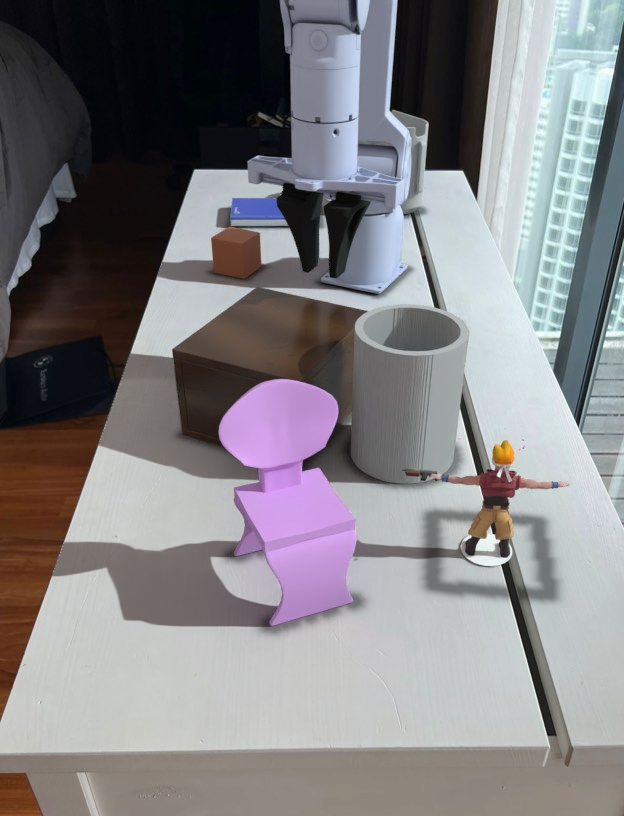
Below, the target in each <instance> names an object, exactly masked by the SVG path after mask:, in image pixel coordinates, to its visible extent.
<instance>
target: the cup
mask: <svg viewBox="0 0 624 816" xmlns="http://www.w3.org/2000/svg"><path fill="white" fill-rule="evenodd" d="M367 311H368V312H366V313H364V314H363V315H362V316H361V317H359V318H358V319H357V321H356V323H355V329H354V362H353V394H352V412H351V426H350V427H351V429H350V431H351V432H350V457H351V460H352V461H353V462H352V463H354V465H355V466H356V467H357V468H358V469H359V470H360V471H361V472H363V473H365V475H368V476H369V477H372V478H373V479H377V480H380V481H383V482H388V483H393V484H404V485H406V484H407V485H408V484H411V485H412V484H419V483H425V482H428V481H431V480H435V479H434V478H432V477H429V476H428V477H427V479H426V481H421V477H422V476H421V475H420V476H419V477H414V476H406V474H405V471H402V469H403V470H405V469H406V468H407V469H413V468H417V469H420V470H433V471H434V472H435V471H437V472H439V473H440V474H441V475H442V476H443V475H445V473H446V472H448V470H449V469H450V468H451V467H452V465H453V462H454V457H455V449H456V441H457V435H458V434H457V433H458V427H459V418H460V410H461V403H462V394H463V386H464V378H465V371H466V370H465V369H466V363H467V356H468V355H467V354H468V346H469V338H470V330H469V326H468V325H467V323H466V322H465V321H464V320H462V318H461V317H458V316H457V315H455V314H454V313H452V312H449V311H447V310H444V309H441V308H438V307H433V306H429V305H424V304H412V303H403V304H401V303H400V304H390V305H384V306H379V307H376V308H373V309H371V310H367Z"/></svg>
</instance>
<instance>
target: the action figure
mask: <svg viewBox="0 0 624 816" xmlns="http://www.w3.org/2000/svg"><path fill="white" fill-rule="evenodd" d="M491 463H492V465H493V466H494V469H489V468H487V469H486V472H485V473H482V472H481V473H479V474H477V475H466V476H462V477H460V476H456V475H448V474H447V475H446V474H442V475H441V474H440V473H439V472H437V471H435V472H434V471H433V470H420V469H417V468H413V469H407V468H406V469H405V470H403V469H402V471H405V474H406V476H414V477H419V476H420V475H421V476H422V477H421V481H425V482H427V481H426V479H427V477H428V476H429V477H432V478H434V479H433V480H435V482H438V481H441V482H445V483H450V484H453V485H465V486H479V487H480V488H481V495H482V497H484V498H483V500H482V506H481V509H480V511H479V512H478V513H477V514H476V516H475V517H474V518H473V520H472V523H471V524H470V527H469V529H468V532H467V533H468V535H467V536H466V537H464V539H463V540H462V541H461V543H460V551H461V553H462V554H463V556H464V557H465V558H466V559H467V560H469V561H470V562H472V563H473V564H476V565H480V566H483V567H484V566H485V567H497V566H501V565H503V564H506V563H507V562H509V561H510V560H511V558H512V557H513V548H512V546H511V544H510V541H509V540H510V539H512V538H514V535H515V533H514V525H513V519H512V517H511V514H510V511H509V509H510V504H511V502H510V498H514V497H515V495H516V491H517V490H519V489H529V490H550V489H552V490H554V489H558V488H564V487H569V486H570V485H571V484H570V482H569V481H563V479H562V478H561V479H560V480H558V481H541V482H539V481H537V480H535V479H530V478H527V479H526V478H525V477H522V476H521V475H519V474H517V473H518V472H517V471H516V470H510V468H511V467H513V465H514V464H515V450H514V448H513V447H512V445H511V443H510V442H509V440H507V439H505V440H503V441H502V442H501V444H494V446H493V448H492V457H491ZM492 524H494V526H495V529H496V530H495V532H494V534H493V533H489V532H488V531H489V529H490V527H491V526H492Z"/></svg>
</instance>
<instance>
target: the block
mask: <svg viewBox="0 0 624 816" xmlns="http://www.w3.org/2000/svg"><path fill="white" fill-rule="evenodd" d="M210 238H211V239H210V241H211V253H212V255H211V256H212V266H213V267H212V269H213V274H219V275H224V276H228V277H232V278H237V279H242V280H246V278H248V277H250V276H251V275H253V274H254V273H255V272H256V271H258V270H259V269H261V267H262V251H261V250H262V249H261V232H259V231H255V230H250V229H245V228H238V227H235V226H228V227H226V228H225V229H223V230H221V231H219V232H218V233H217V234H215V235H213V236H211V237H210Z"/></svg>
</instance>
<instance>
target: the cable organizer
mask: <svg viewBox="0 0 624 816" xmlns="http://www.w3.org/2000/svg"><path fill="white" fill-rule="evenodd" d="M390 112H391V113H392V114H393V116H395V117H396V118H397V119H398V120H399V121H400V122H401V123H402V124H403V125H404V126H405V127H406V128H407V129H408V131H409V133H410V137H411V139H412V141H411V176H410V185H409V191H408V196H407V199H406V201H405V202H404V203H403V204H402V205H400V207H401V209H402V211H403V215H406V214H412V213H414V212H416V211H417V210H418V209H419V208H420V207H421V206H422V205H423V200H424V199H423V198H424V186H425V173H426V159H427V150H428V149H427V147H428V135H429V121H427V120H426V119H424V118H420V117H417V116H414V115H411V114H408V113H404V112H402V111H398V110H396V109H392V110H391V111H390ZM358 144H371V145H385V146H393V145H392V144H390V143H387V142H380V141H366V140H358Z"/></svg>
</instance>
